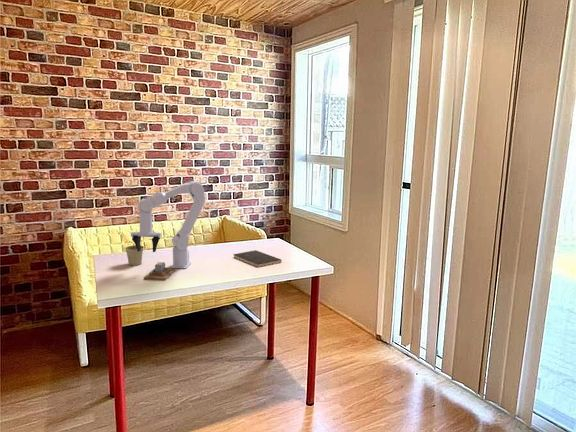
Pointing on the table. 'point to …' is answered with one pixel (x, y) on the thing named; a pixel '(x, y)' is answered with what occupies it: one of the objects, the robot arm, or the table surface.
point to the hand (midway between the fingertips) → (146, 251)
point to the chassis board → (159, 274)
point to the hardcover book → (257, 258)
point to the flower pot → (134, 255)
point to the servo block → (160, 267)
